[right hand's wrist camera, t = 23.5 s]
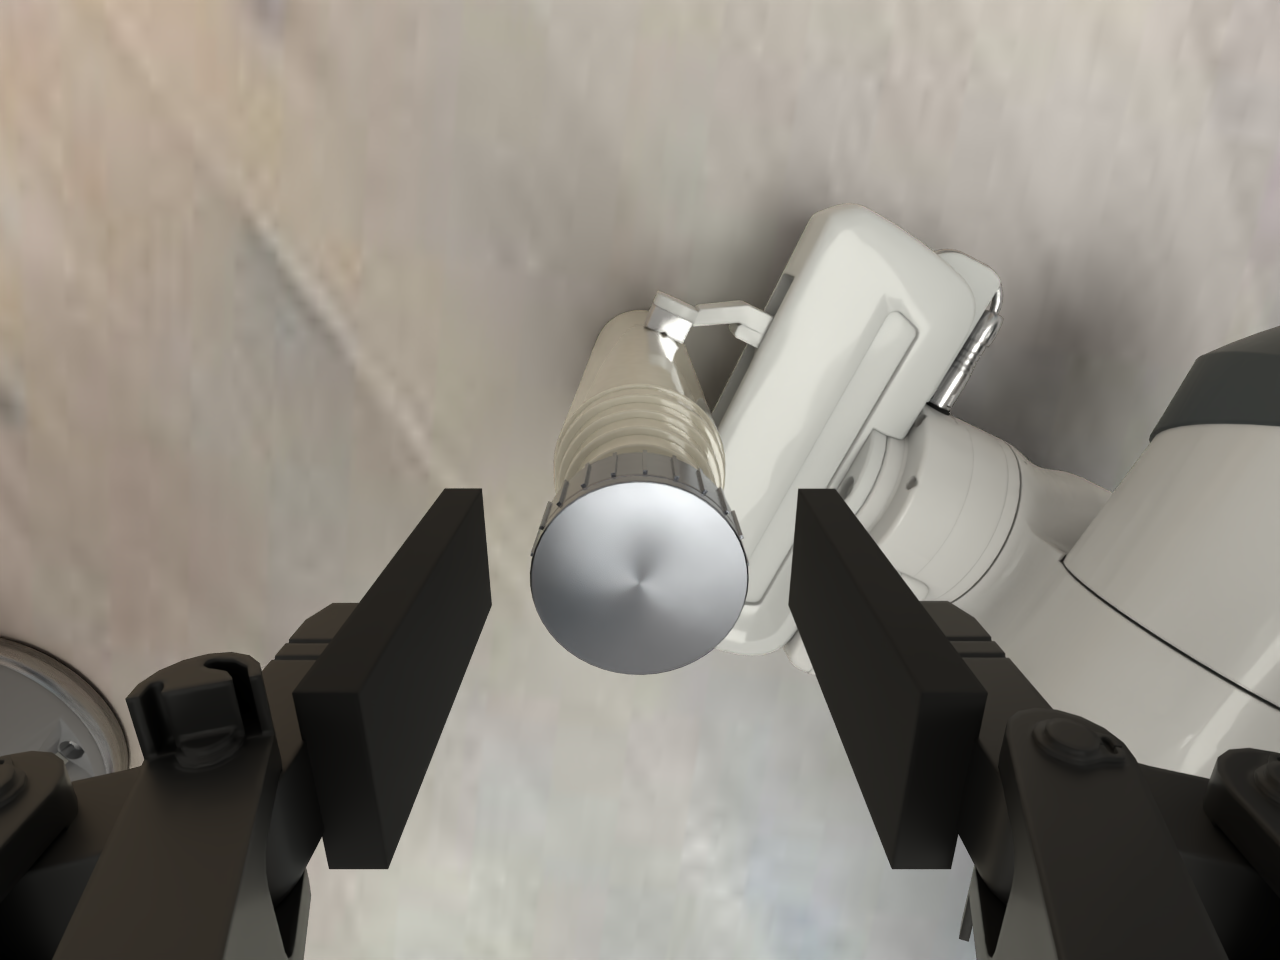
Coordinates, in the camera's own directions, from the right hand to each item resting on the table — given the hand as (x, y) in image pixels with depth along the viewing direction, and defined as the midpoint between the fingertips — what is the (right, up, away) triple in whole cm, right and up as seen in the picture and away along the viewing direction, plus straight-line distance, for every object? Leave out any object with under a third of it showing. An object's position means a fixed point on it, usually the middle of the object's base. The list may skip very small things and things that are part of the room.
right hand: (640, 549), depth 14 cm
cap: (0, 0, -1) cm, 1 cm away
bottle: (0, +8, +21) cm, 23 cm away
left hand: (-1, +6, +15) cm, 17 cm away
